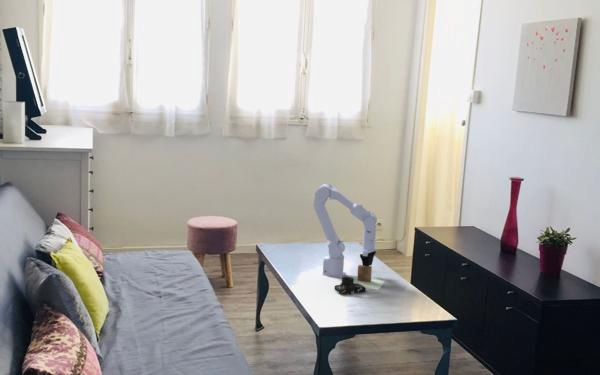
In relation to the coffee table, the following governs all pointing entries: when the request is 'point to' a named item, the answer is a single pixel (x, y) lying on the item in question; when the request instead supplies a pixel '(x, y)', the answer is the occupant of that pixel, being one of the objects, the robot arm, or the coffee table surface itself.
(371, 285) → the mat
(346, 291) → the film camera
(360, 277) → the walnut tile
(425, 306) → the coffee table surface
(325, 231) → the robot arm
